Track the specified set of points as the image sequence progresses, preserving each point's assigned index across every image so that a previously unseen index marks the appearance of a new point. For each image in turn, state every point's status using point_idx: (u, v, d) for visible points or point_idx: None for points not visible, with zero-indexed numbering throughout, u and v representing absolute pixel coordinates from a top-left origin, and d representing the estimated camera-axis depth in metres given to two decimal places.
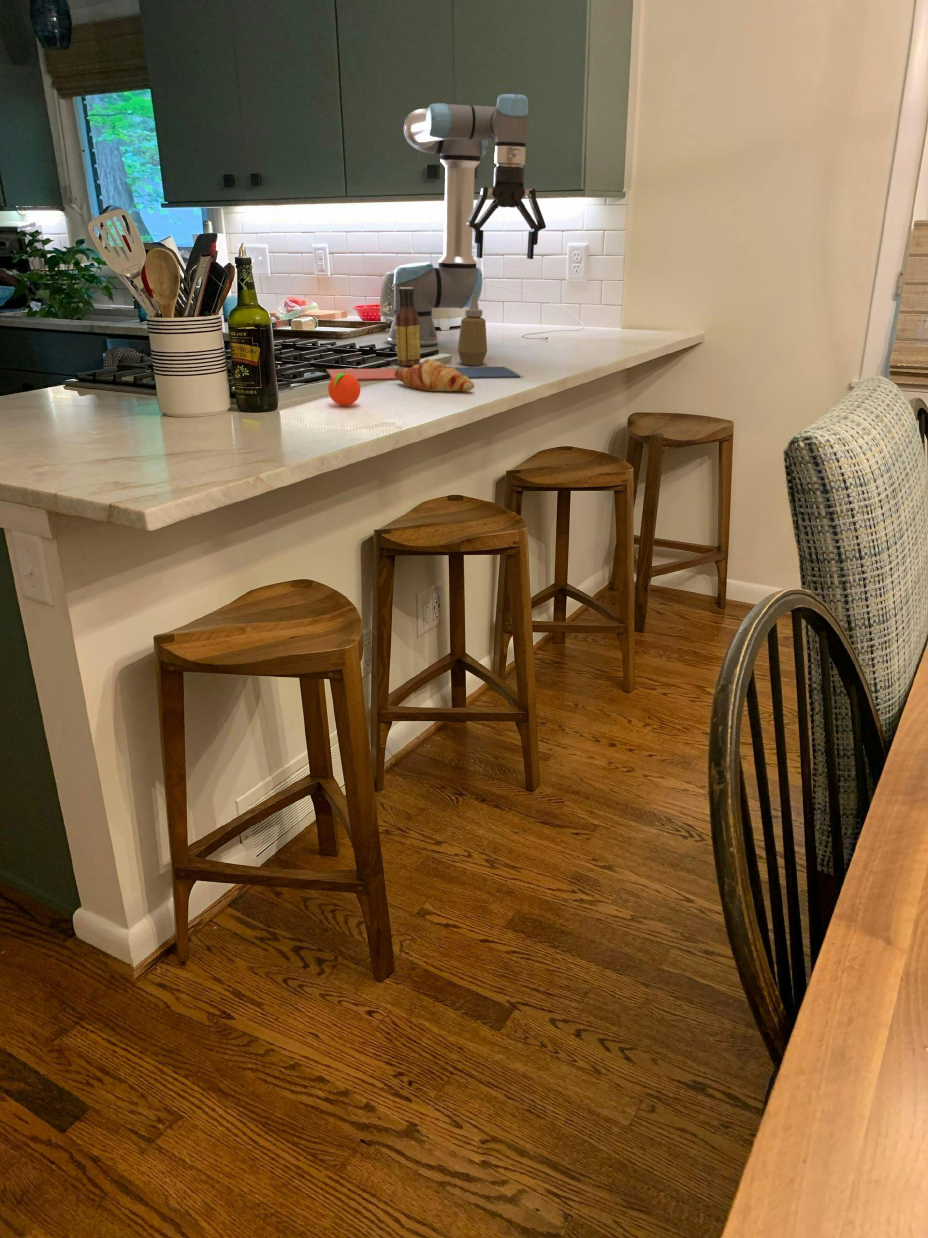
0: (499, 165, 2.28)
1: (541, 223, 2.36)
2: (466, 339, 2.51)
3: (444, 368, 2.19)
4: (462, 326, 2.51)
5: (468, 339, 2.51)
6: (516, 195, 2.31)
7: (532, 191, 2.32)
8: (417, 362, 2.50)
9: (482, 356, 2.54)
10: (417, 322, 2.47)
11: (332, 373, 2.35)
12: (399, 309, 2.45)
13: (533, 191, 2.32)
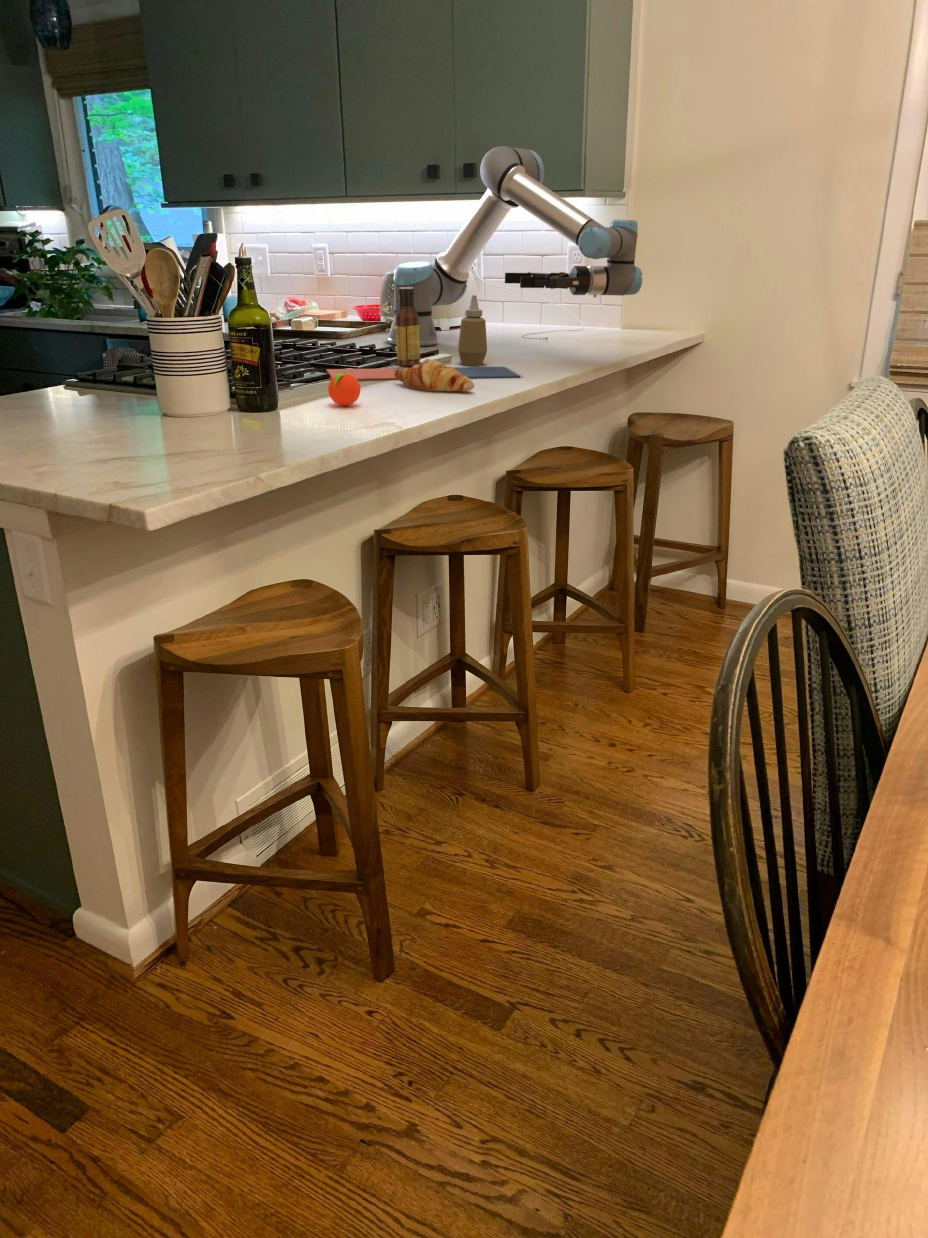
0: (590, 285, 2.53)
1: None
2: (466, 339, 2.51)
3: (444, 368, 2.19)
4: (462, 326, 2.51)
5: (468, 339, 2.51)
6: None
7: None
8: (417, 362, 2.50)
9: (482, 356, 2.54)
10: (417, 322, 2.47)
11: (332, 373, 2.35)
12: (399, 309, 2.45)
13: None
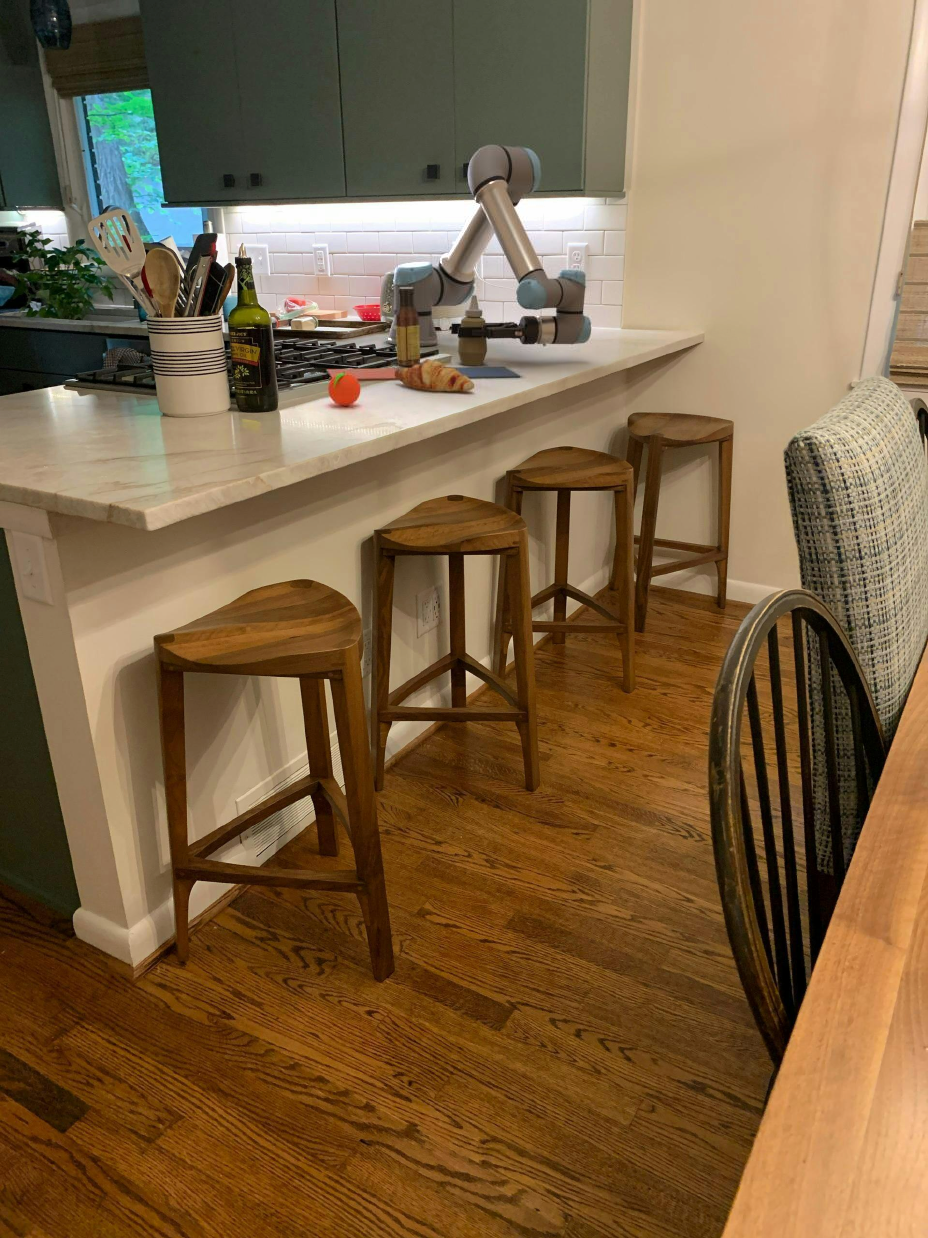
0: (538, 335, 2.55)
1: None
2: (466, 339, 2.51)
3: (444, 368, 2.19)
4: (462, 326, 2.51)
5: (468, 339, 2.51)
6: None
7: None
8: (417, 362, 2.50)
9: (482, 356, 2.54)
10: (417, 322, 2.47)
11: (332, 373, 2.35)
12: (399, 309, 2.45)
13: None
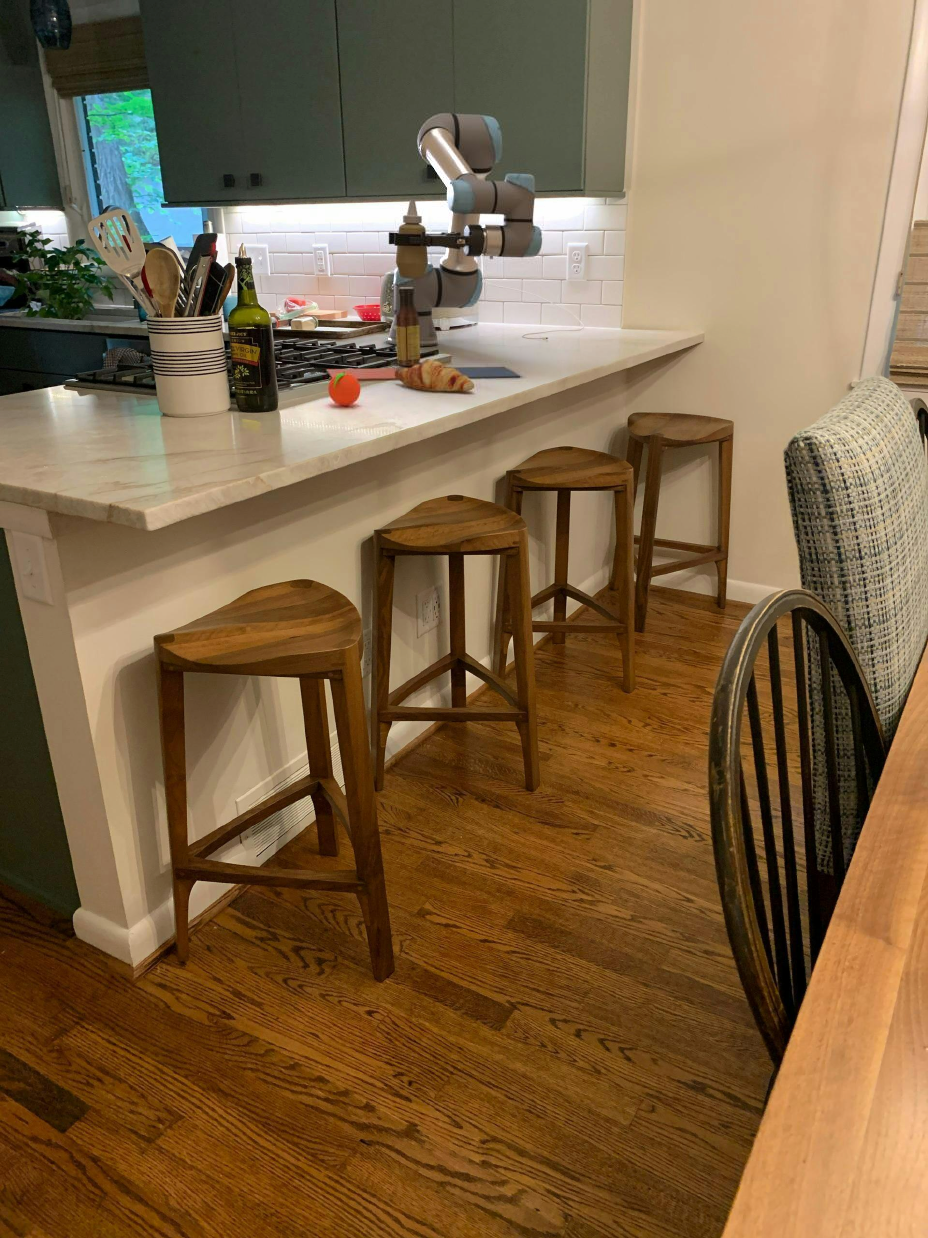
0: (484, 245, 2.34)
1: None
2: (404, 248, 2.29)
3: (444, 368, 2.19)
4: None
5: (407, 248, 2.29)
6: None
7: None
8: (417, 362, 2.50)
9: (423, 268, 2.32)
10: (417, 322, 2.47)
11: (332, 373, 2.35)
12: (399, 309, 2.45)
13: None
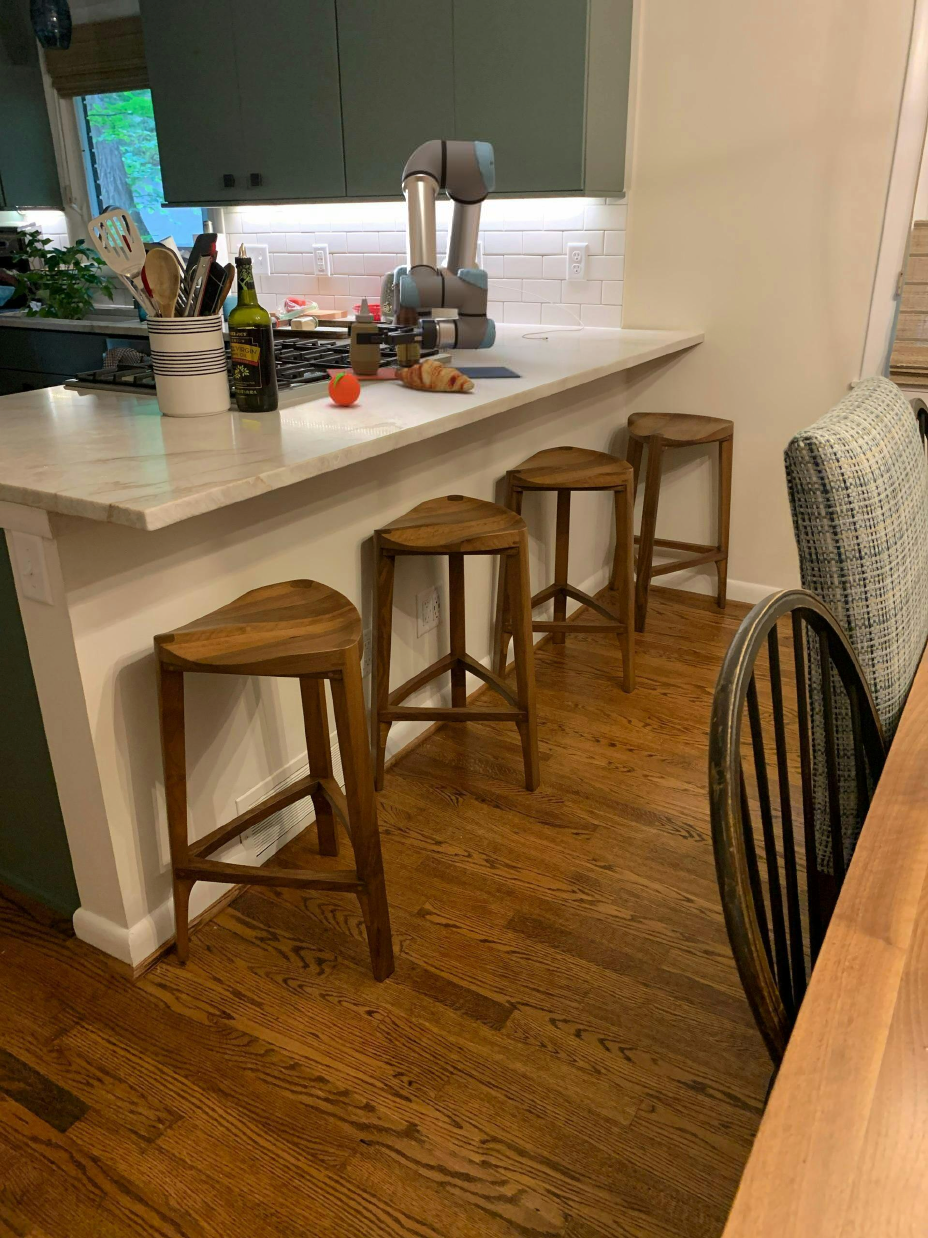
0: (437, 340, 2.35)
1: None
2: (357, 346, 2.30)
3: (444, 368, 2.19)
4: (352, 332, 2.31)
5: (359, 347, 2.30)
6: None
7: None
8: (417, 362, 2.50)
9: (376, 365, 2.33)
10: (417, 322, 2.47)
11: (332, 373, 2.35)
12: (399, 309, 2.45)
13: None
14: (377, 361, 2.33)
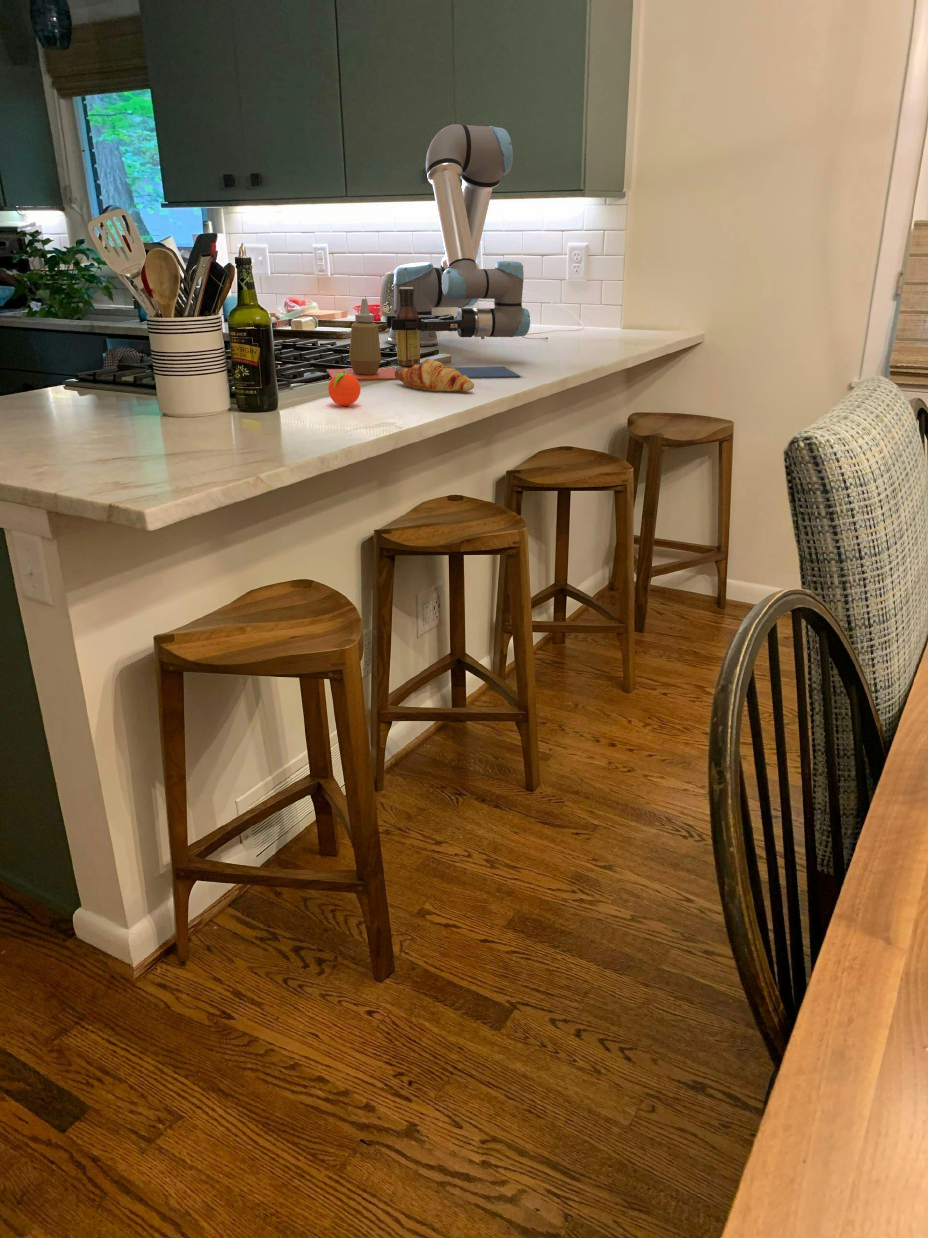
0: (475, 328, 2.50)
1: None
2: (357, 346, 2.30)
3: (444, 368, 2.19)
4: (352, 332, 2.31)
5: (359, 347, 2.30)
6: None
7: None
8: (417, 362, 2.50)
9: (376, 365, 2.33)
10: None
11: (332, 373, 2.35)
12: (399, 309, 2.45)
13: None
14: (377, 361, 2.33)
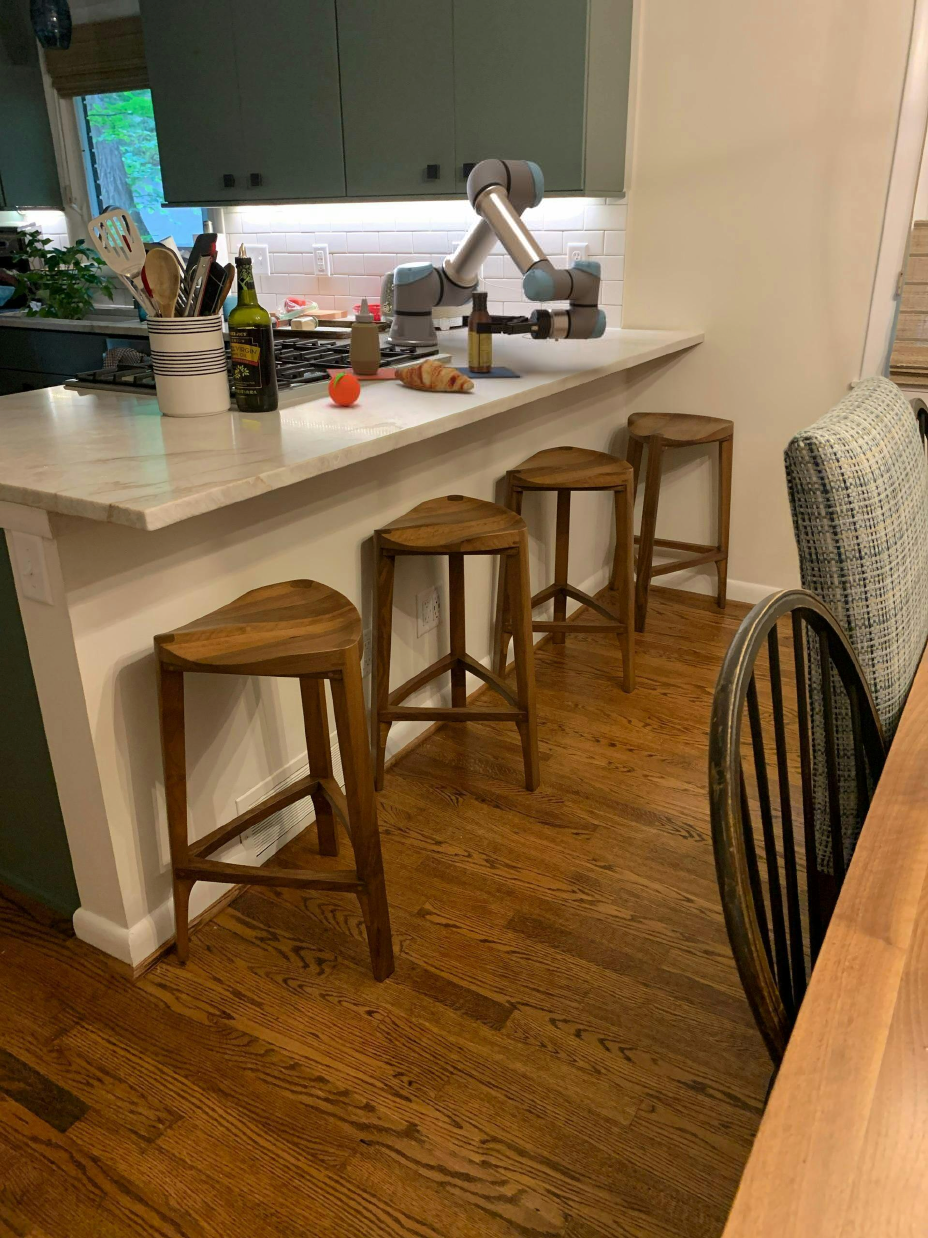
0: (550, 329, 2.41)
1: None
2: (357, 346, 2.30)
3: (444, 368, 2.19)
4: (352, 332, 2.31)
5: (359, 347, 2.30)
6: None
7: None
8: (489, 368, 2.42)
9: (376, 365, 2.33)
10: None
11: (332, 373, 2.35)
12: (472, 314, 2.37)
13: None
14: (377, 361, 2.33)
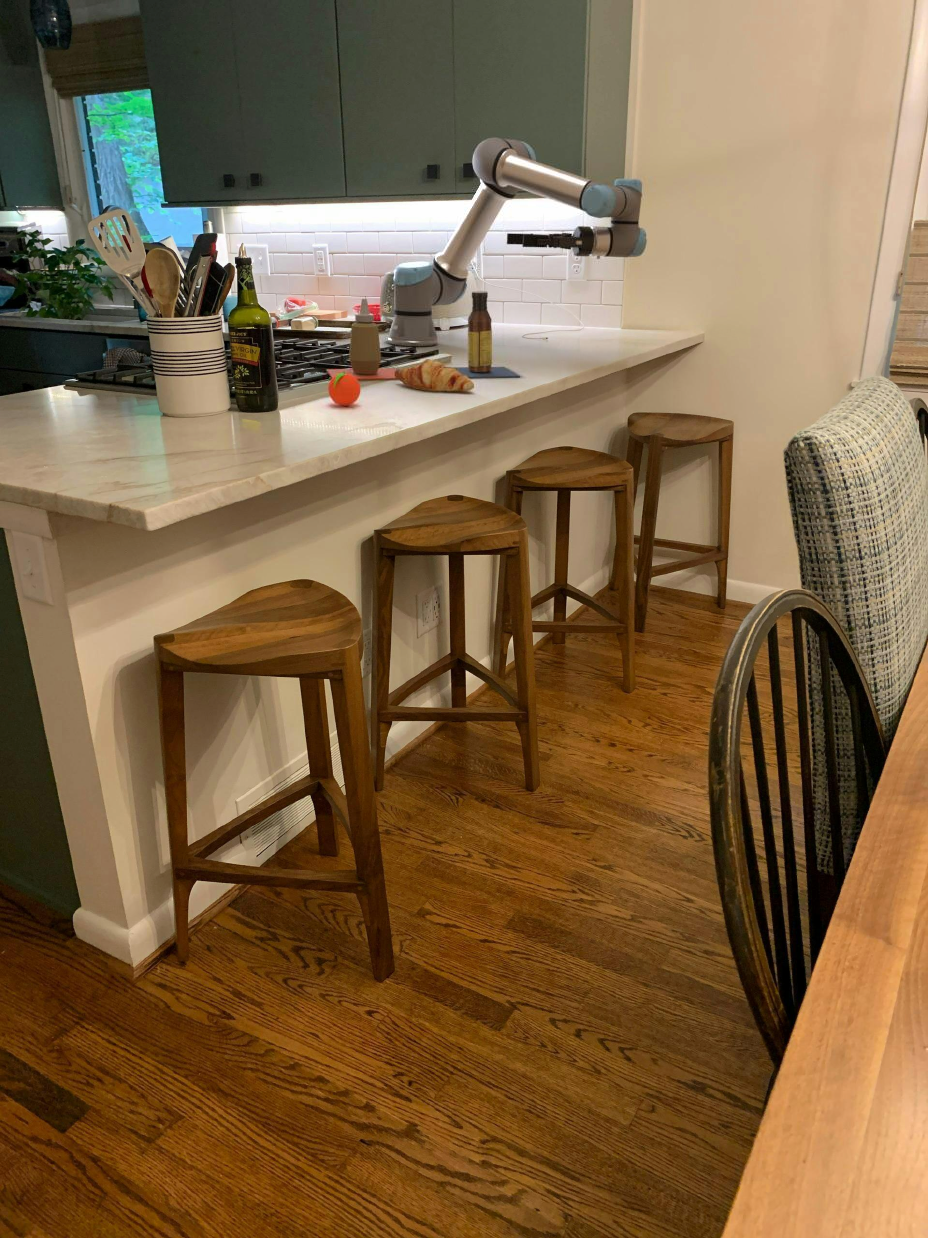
0: (593, 246, 2.49)
1: None
2: (357, 346, 2.30)
3: (444, 368, 2.19)
4: (352, 332, 2.31)
5: (359, 347, 2.30)
6: None
7: None
8: (489, 368, 2.42)
9: (376, 365, 2.33)
10: (490, 327, 2.38)
11: (332, 373, 2.35)
12: (472, 314, 2.37)
13: None
14: (377, 361, 2.33)
